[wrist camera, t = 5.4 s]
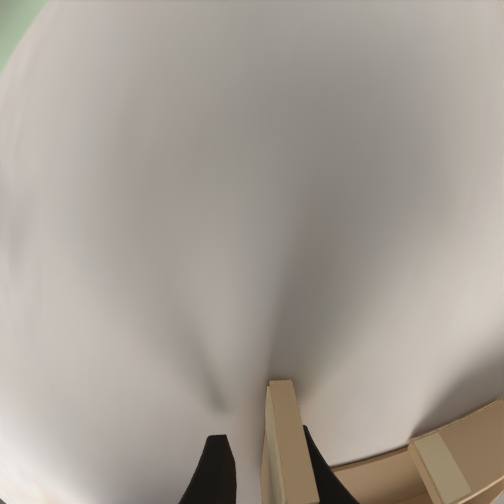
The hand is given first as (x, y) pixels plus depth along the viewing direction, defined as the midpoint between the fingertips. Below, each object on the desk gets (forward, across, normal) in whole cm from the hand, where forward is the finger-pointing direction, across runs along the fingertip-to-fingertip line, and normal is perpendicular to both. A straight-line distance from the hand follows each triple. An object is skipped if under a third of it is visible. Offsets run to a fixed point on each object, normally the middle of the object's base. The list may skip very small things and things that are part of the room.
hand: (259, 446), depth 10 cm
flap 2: (+1, -11, +5) cm, 13 cm away
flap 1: (+1, -1, +1) cm, 2 cm away
